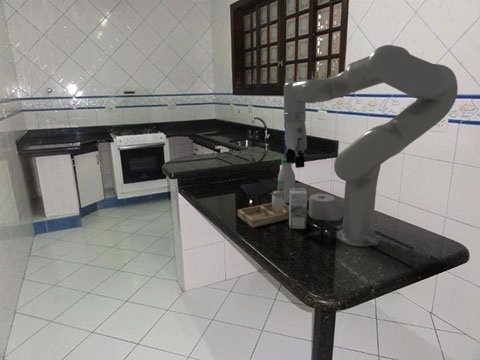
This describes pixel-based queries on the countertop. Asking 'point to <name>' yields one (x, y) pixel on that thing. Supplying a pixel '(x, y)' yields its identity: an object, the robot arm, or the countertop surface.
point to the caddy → (262, 215)
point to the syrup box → (297, 208)
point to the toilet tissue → (324, 208)
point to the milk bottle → (286, 179)
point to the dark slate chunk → (261, 187)
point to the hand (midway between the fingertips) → (295, 164)
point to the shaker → (277, 202)
